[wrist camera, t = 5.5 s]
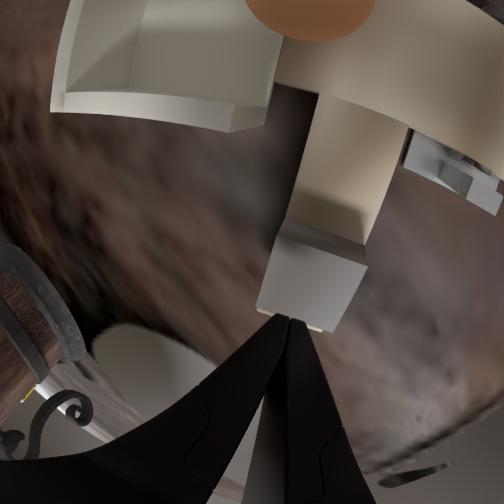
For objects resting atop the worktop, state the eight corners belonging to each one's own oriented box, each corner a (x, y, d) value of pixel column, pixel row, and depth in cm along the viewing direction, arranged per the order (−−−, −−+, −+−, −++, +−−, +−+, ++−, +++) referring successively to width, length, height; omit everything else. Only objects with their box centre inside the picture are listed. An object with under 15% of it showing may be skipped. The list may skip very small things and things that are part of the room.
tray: (310, -53, 6) (296, -108, 2) (264, 125, 11) (228, 133, 7) (156, -49, 7) (104, -76, 3) (116, 102, 12) (50, 112, 8)
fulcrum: (523, 47, 5) (559, 42, 2) (484, 208, 10) (518, 237, 7) (440, -8, 5) (466, -33, 3) (401, 165, 10) (424, 184, 7)
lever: (597, 133, 3) (625, 144, 1) (487, 364, 11) (497, 395, 9) (312, -46, 5) (305, -79, 3) (232, 286, 13) (211, 321, 11)
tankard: (-11, 258, 25) (-100, 339, 8) (23, 224, 19) (-124, 351, 2) (75, 386, 34) (14, 472, 17) (144, 405, 27) (69, 533, 10)
